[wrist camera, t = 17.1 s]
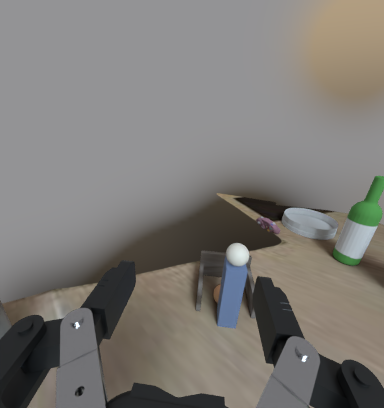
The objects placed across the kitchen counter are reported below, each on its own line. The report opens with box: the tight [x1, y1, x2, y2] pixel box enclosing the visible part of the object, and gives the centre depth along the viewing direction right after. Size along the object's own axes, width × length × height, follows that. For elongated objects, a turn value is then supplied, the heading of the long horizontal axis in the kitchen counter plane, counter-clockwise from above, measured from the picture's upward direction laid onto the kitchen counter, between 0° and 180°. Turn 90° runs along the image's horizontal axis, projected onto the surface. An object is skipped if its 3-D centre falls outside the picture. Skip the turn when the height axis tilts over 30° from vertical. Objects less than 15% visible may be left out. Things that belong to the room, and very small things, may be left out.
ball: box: [213, 284, 221, 303], centre depth 48 cm, size 5×5×5 cm
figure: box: [217, 243, 249, 328], centre depth 40 cm, size 4×4×20 cm
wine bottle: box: [333, 176, 384, 266], centre depth 62 cm, size 8×8×30 cm
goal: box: [196, 251, 256, 318], centre depth 50 cm, size 13×14×8 cm
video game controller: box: [256, 217, 280, 234], centre depth 83 cm, size 10×5×7 cm, turn 32°
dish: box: [282, 208, 338, 240], centre depth 89 cm, size 22×22×5 cm
